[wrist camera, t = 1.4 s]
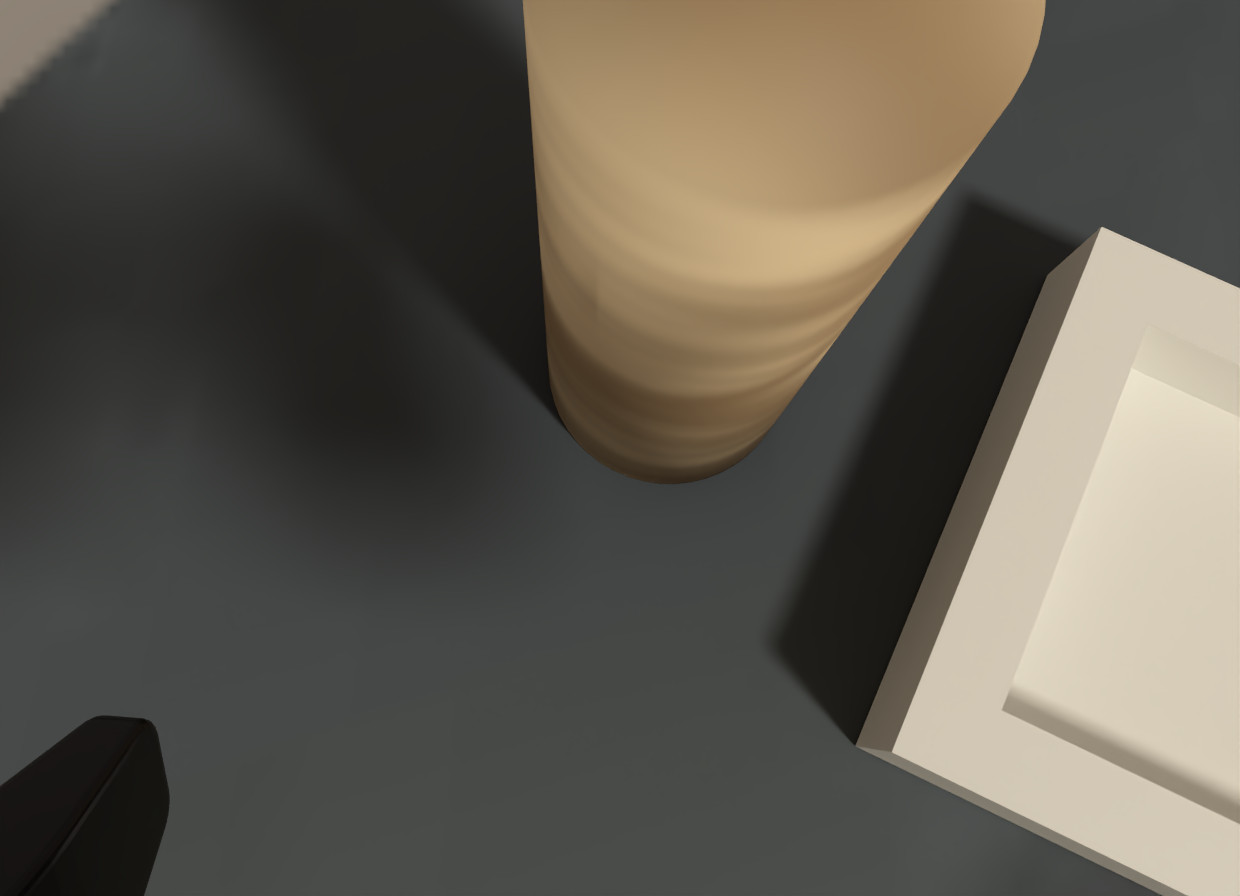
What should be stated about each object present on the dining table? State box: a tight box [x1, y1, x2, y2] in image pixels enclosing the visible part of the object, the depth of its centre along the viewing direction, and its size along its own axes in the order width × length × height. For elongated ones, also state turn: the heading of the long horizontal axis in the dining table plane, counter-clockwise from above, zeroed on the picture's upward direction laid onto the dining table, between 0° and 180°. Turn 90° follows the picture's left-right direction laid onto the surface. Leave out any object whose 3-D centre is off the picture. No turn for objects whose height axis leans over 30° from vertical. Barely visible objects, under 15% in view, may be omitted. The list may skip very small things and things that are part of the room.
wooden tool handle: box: [523, 0, 1045, 484], centre depth 17 cm, size 5×5×13 cm
